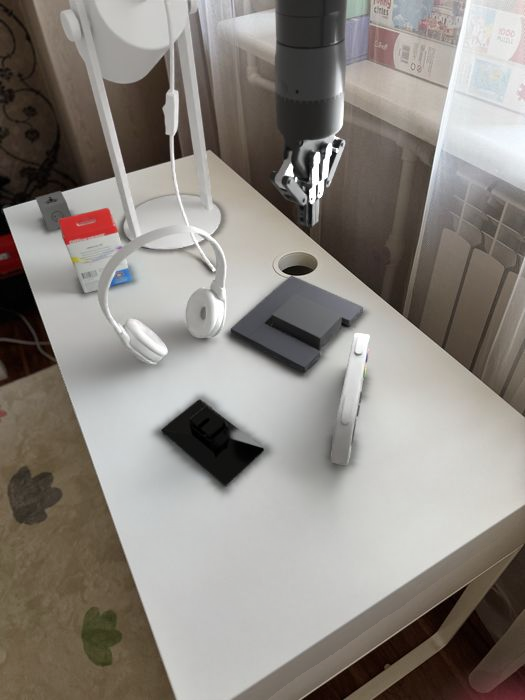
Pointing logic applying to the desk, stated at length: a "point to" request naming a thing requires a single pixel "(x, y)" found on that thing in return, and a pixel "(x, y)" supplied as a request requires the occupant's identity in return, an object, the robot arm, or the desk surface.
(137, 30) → the desk lamp
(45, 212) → the dice cube
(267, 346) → the base pad
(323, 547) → the desk surface
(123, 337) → the headphones
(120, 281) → the ink box
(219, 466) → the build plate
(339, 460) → the game controller
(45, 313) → the desk surface
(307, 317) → the small pad
